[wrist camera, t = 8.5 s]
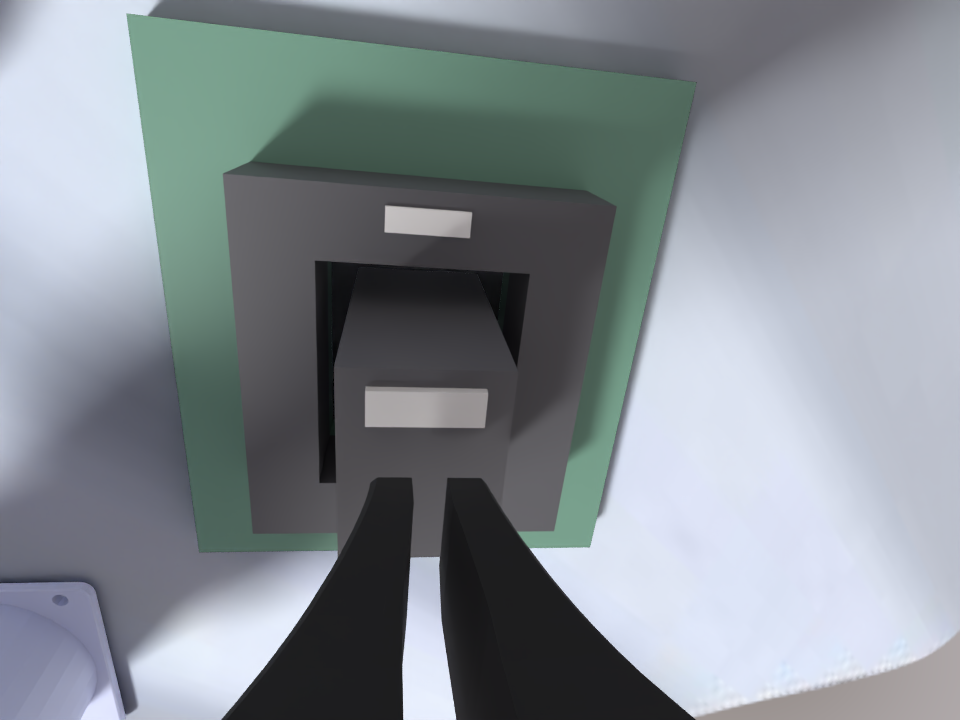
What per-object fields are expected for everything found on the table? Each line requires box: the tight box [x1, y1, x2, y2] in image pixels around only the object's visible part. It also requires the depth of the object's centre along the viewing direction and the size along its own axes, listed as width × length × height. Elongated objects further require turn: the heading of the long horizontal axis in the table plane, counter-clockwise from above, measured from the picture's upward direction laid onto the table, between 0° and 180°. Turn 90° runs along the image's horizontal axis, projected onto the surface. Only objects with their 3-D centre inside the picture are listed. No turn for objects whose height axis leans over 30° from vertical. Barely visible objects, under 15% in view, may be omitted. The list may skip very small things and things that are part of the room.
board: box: [127, 14, 697, 552], centre depth 17 cm, size 14×16×4 cm
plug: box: [334, 267, 518, 557], centre depth 15 cm, size 4×5×7 cm
